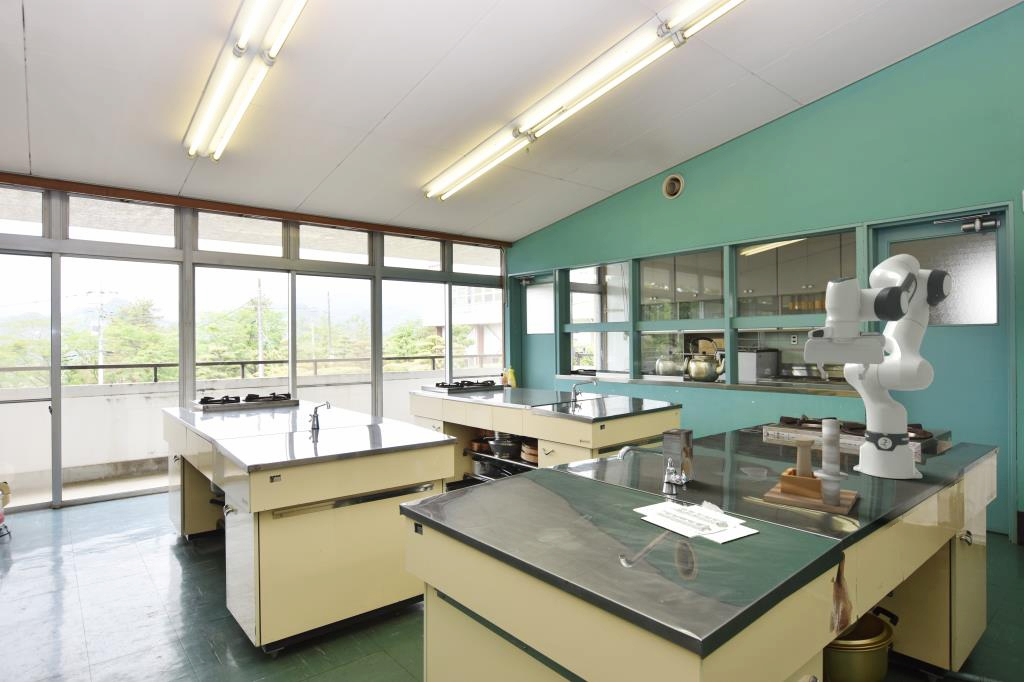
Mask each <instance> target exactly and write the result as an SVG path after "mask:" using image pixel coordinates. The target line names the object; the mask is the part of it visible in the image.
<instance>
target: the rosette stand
mask: <svg viewBox="0 0 1024 682" xmlns="http://www.w3.org/2000/svg"><path fill="white" fill-rule="evenodd" d="M840 421H841V420H838V419H830V418H829V419H827V418H824V419H822V420H821V430H822V431H821V440H822V441H821V442H822V443H821V454H822V455H821V457H822V459H821V460H822V461H821V462H822V463H821V466H822V467H821V469H818V470H812V478H806V477H799V476H797V467H796V468H795V467H789V468H787V469H786V470H785V471H783V472H782V473H781V474H780V481H779V482H777V484H775V485H774V486H772V488H771V489H770V490H768V491H767V492H765V494H763V502H768V503H774V504H780V505H786V506H791V507H797V508H803V509H811V510H815V511H820V512H821V511H822V512H827V513H833V514H839V515H844V516H848V514H849V513H850V511H851V510H852V507H853V506H854V504H855V502H856V501H857V499H858V495H859V494H858V493H859V492H858V491H856V490H848V489H841V481H848V480H849V479H850V475H849V474H848V473H845V472H843V471H841V468H840V467H841V456H840V455H841V454H840V453H841V451H840V449H841V447H840V443H841V440H840V439H841V438H840V437H841V436H840V435H841V433H840V432H841V431H840V430H841V428H840V426H841V425H840V424H841V423H840Z"/></svg>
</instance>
